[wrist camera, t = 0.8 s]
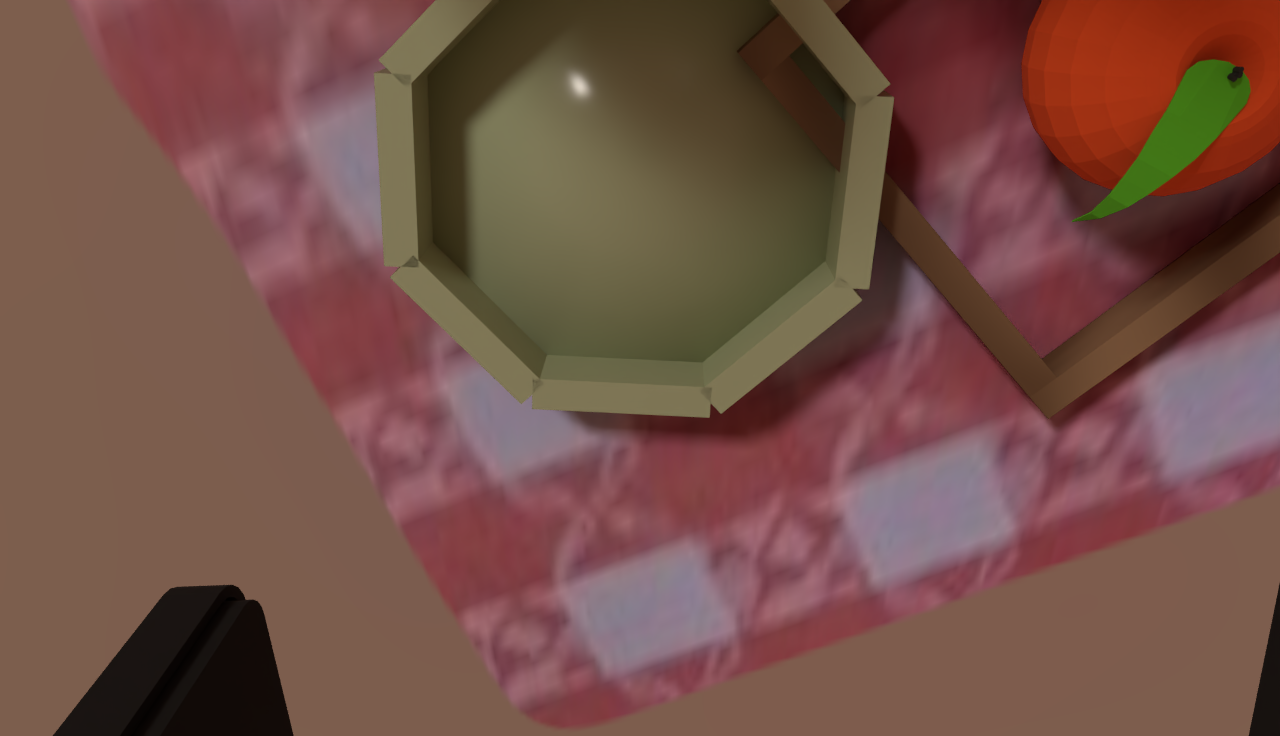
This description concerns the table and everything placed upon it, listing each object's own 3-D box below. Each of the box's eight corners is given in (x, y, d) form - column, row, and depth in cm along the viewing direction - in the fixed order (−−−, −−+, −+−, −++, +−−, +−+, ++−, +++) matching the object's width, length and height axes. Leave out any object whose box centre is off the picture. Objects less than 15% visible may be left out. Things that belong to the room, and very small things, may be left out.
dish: (647, -204, 28) (645, -221, 25) (958, 181, 31) (985, 201, 29) (308, 150, 31) (276, 167, 29) (621, 456, 35) (617, 496, 32)
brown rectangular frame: (1189, -372, 26) (1218, -391, 24) (1468, 82, 30) (1507, 88, 28) (734, 48, 30) (738, 53, 29) (1032, 399, 34) (1048, 419, 32)
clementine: (1114, 237, 32) (1230, 312, 25) (922, 134, 31) (992, 184, 24) (1286, -8, 29) (1469, 3, 22) (1083, -131, 28) (1211, -157, 21)
